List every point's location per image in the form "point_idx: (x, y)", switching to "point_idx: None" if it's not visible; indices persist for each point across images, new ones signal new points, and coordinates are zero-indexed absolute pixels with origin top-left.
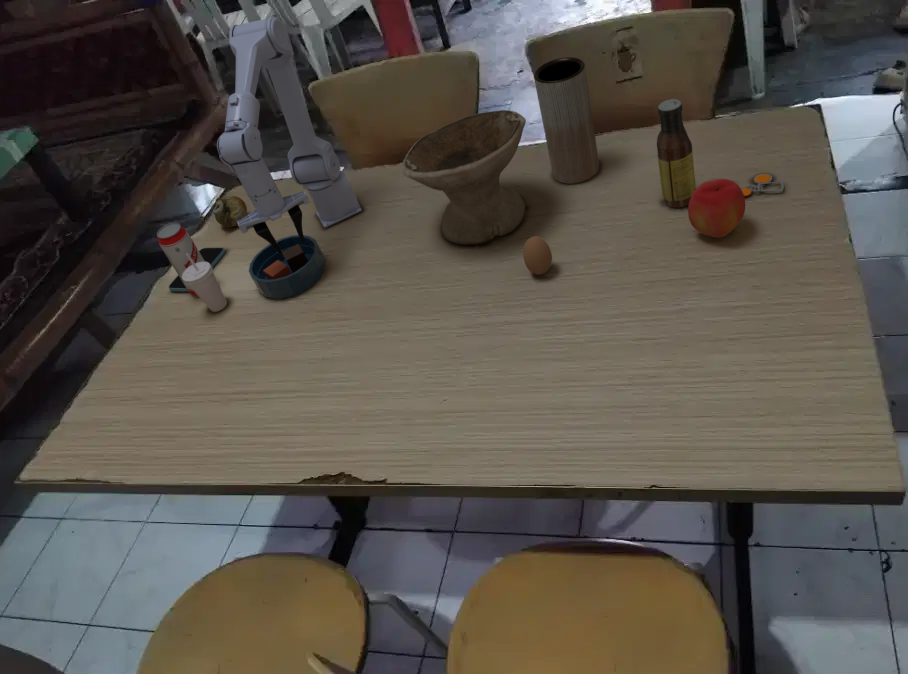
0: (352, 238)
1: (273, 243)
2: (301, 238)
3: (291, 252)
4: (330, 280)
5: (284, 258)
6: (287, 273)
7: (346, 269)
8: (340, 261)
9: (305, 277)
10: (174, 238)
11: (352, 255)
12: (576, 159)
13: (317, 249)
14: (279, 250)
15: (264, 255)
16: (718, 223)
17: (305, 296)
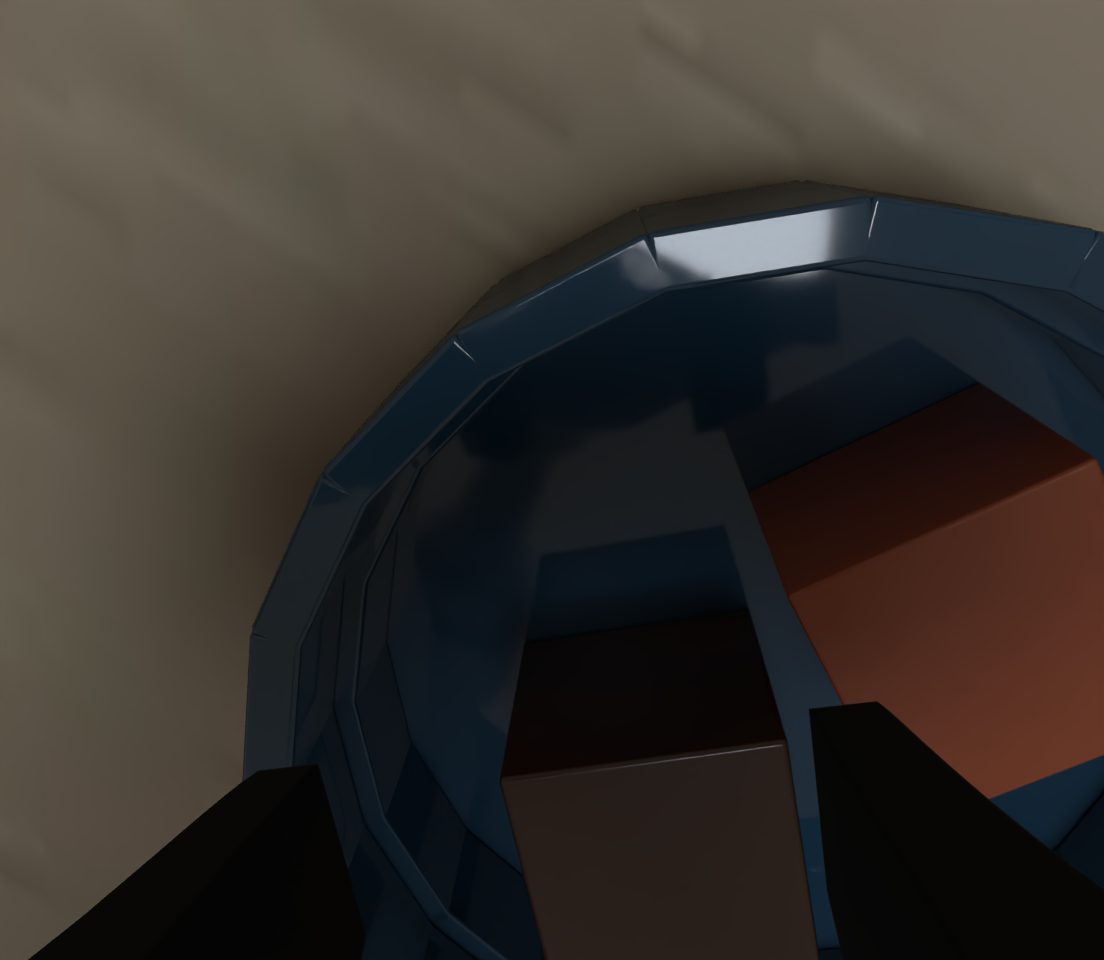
0: (42, 866)
1: (1007, 880)
2: (247, 815)
3: (678, 873)
4: (309, 255)
5: None
6: (823, 524)
7: (99, 360)
8: (176, 559)
9: (564, 258)
10: None
11: (31, 583)
12: None
13: (248, 677)
14: (859, 729)
15: None
16: None
17: (671, 104)
